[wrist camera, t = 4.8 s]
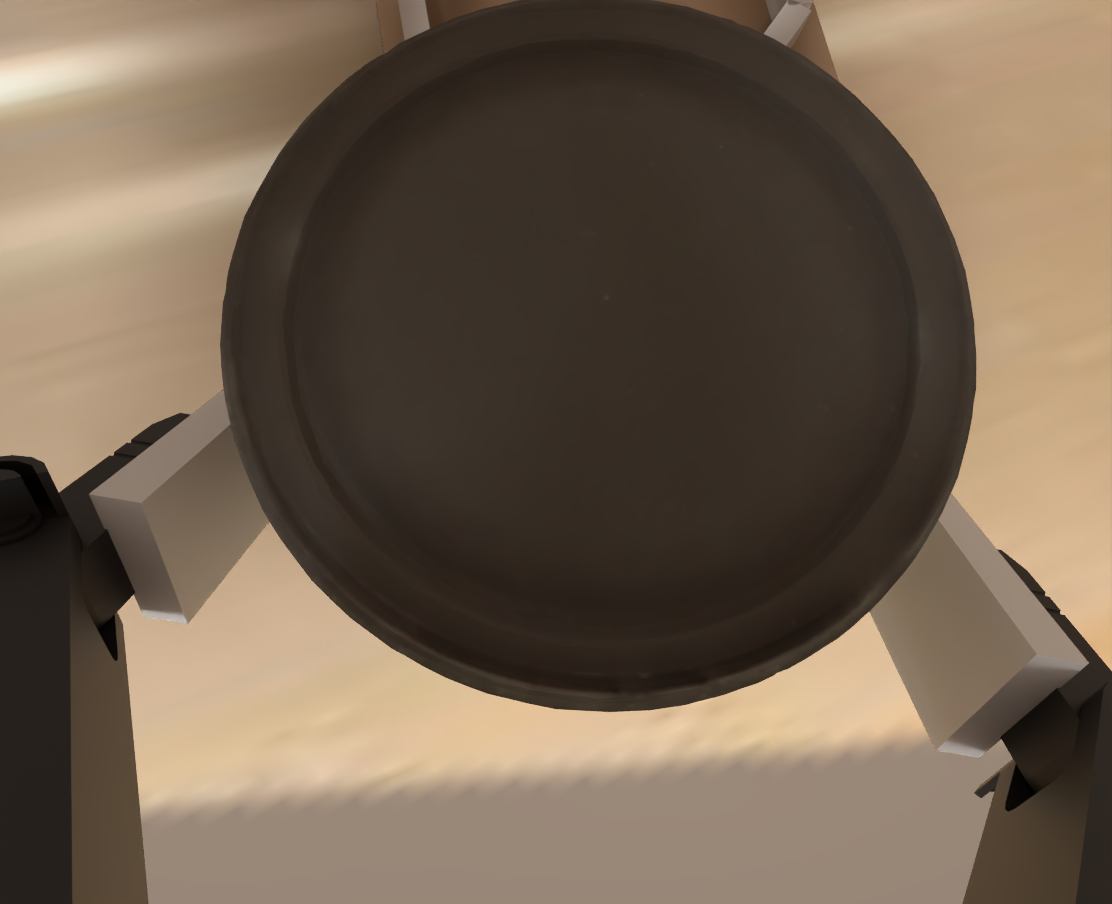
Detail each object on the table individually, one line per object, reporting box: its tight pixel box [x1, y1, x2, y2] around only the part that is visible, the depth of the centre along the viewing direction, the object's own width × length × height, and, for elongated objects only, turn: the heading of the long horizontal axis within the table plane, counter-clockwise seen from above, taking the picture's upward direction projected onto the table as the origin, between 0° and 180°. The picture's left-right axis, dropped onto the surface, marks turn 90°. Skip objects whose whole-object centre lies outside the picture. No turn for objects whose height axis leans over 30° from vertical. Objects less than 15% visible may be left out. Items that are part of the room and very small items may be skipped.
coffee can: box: [220, 0, 976, 712], centre depth 14 cm, size 10×10×14 cm
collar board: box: [376, 0, 839, 82], centre depth 23 cm, size 18×18×3 cm
